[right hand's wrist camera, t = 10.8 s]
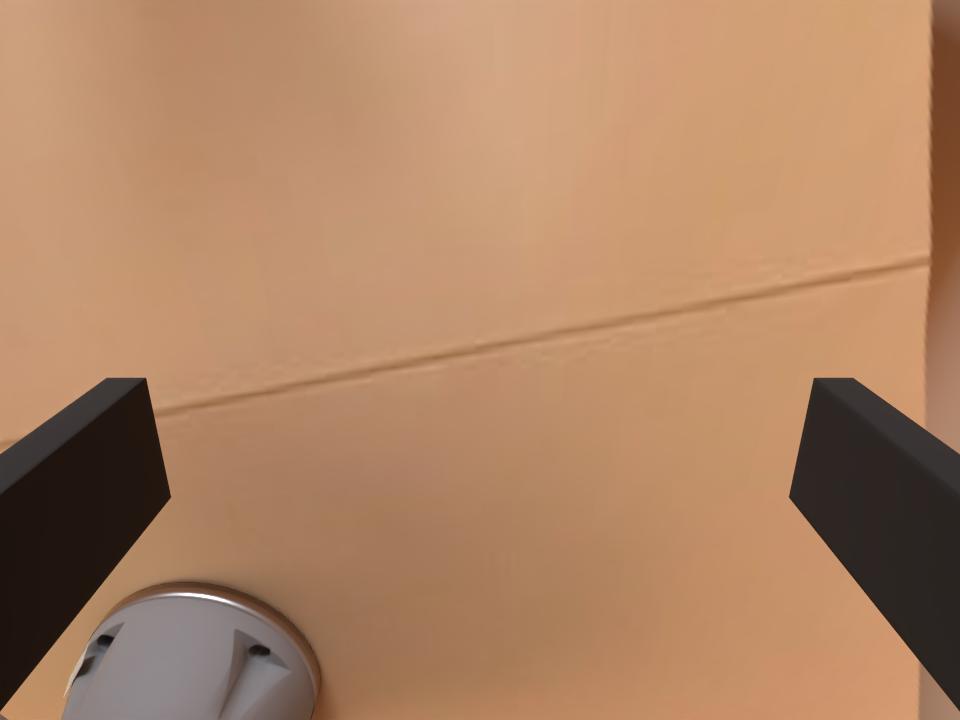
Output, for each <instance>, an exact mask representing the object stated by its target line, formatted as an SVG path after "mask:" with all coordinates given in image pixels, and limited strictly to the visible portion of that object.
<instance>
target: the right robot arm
mask: <svg viewBox="0 0 960 720" xmlns="http://www.w3.org/2000/svg"><path fill="white" fill-rule="evenodd" d="M170 498H171V495H170V490H169V485H168V480H167V476H166V471H165V466H164V461H163V457H162V452H161V447H160V442H159V437H158V433H157V428H156V423H155V418H154V414H153V409H152V404H151V399H150V395H149V390H148V385H147V380H146V378H106V379H105V380H103V381H102V382H101V383H99V384H98V385H96V386H95V387H94V388H92V389H91V390H89V391H88V392H87V393H85V394H84V395H82V396H81V397H80V398H78V399H77V400H75V401H74V402H73V403H71V404H70V405H68V406H67V407H66V408H64V409H63V410H62V411H60V412H59V413H57V414H56V415H55V416H53V417H52V418H50V419H49V420H48V421H46V422H45V423H43V424H42V425H41V426H39V427H38V428H36V429H35V430H34V431H32V432H31V433H29V434H28V435H27V436H25V437H24V438H22V439H21V440H20V441H18V442H17V443H16V444H14V445H13V446H11V447H10V448H9V449H7V450H6V451H4V452H3V453H2V454H0V711H1V710H2V708H3V707H4V706H5V705H6V703H7V702H8V701H9V700H10V698H11V697H12V696H13V695H14V693H15V692H16V691H17V690H18V688H19V687H20V686H21V685H22V683H23V682H24V681H25V680H26V678H27V677H28V676H29V675H30V673H31V672H32V671H33V670H34V668H35V667H36V666H37V665H38V663H39V662H40V661H41V660H42V658H43V657H44V656H45V655H46V653H47V652H48V651H49V650H50V648H51V647H52V646H53V645H54V643H55V642H56V641H57V640H58V638H59V637H60V636H61V635H62V633H63V632H64V631H65V630H66V628H67V627H68V626H69V625H70V623H71V622H72V621H73V620H74V618H75V617H76V616H77V614H78V613H79V612H80V611H81V609H82V608H83V607H84V606H85V604H86V603H87V602H88V601H89V599H90V598H91V597H92V596H93V594H94V593H95V592H96V591H97V589H98V588H99V587H100V586H101V584H102V583H103V582H104V581H105V579H106V578H107V577H108V576H109V574H110V573H111V572H112V571H113V569H114V568H115V567H116V566H117V564H118V563H119V562H120V561H121V559H122V558H123V557H124V556H125V554H126V553H127V552H128V551H129V549H130V548H131V547H132V546H133V544H134V543H135V542H136V541H137V539H138V538H139V537H140V536H141V534H142V533H143V532H144V531H145V529H146V528H147V527H148V526H149V524H150V523H151V522H152V521H153V519H154V518H155V517H156V516H157V514H158V513H159V512H160V511H161V509H162V508H163V507H164V506H165V504H166V503H167V502H168V500H169V499H170ZM789 498H790V499H791V500H792V502H793V503H794V504H795V506H796V507H797V508H798V509H799V511H800V512H801V513H802V514H803V516H804V517H805V518H806V519H807V521H808V522H809V523H810V524H811V526H812V527H813V528H814V529H815V531H816V532H817V533H818V534H819V536H820V537H821V538H822V539H823V541H824V542H825V543H826V544H827V546H828V547H829V548H830V549H831V551H832V552H833V553H834V554H835V556H836V557H837V558H838V559H839V561H840V562H841V563H842V564H843V566H844V567H845V568H846V569H847V571H848V572H849V573H850V574H851V576H852V577H853V578H854V579H855V581H856V582H857V583H858V584H859V586H860V587H861V588H862V589H863V591H864V592H865V593H866V594H867V596H868V597H869V598H870V599H871V601H872V602H873V603H874V604H875V606H876V607H877V608H878V609H879V611H880V612H881V613H882V614H883V616H884V617H885V618H886V620H887V621H888V622H889V623H890V625H891V626H892V627H893V628H894V630H895V631H896V632H897V633H898V635H899V636H900V637H901V638H902V640H903V641H904V642H905V643H906V645H907V646H908V647H909V648H910V650H911V651H912V652H913V653H914V655H915V656H916V657H917V658H918V660H919V661H920V662H921V663H922V665H923V666H924V667H925V668H926V670H927V671H928V672H929V673H930V675H931V676H932V677H933V678H934V680H935V681H936V682H937V683H938V685H939V686H940V687H941V688H942V690H943V691H944V692H945V693H946V695H947V696H948V697H949V698H950V700H951V701H952V702H953V703H954V705H955V706H956V707H957V708H958V710H959V711H960V454H958V453H957V452H956V451H954V450H953V449H951V448H950V447H949V446H947V445H946V444H944V443H943V442H942V441H940V440H939V439H938V438H936V437H935V436H933V435H932V434H931V433H929V432H928V431H926V430H925V429H924V428H922V427H921V426H919V425H918V424H917V423H915V422H914V421H912V420H911V419H910V418H908V417H907V416H905V415H904V414H903V413H901V412H900V411H898V410H897V409H896V408H894V407H893V406H892V405H890V404H889V403H887V402H886V401H885V400H883V399H882V398H880V397H879V396H878V395H876V394H875V393H873V392H872V391H871V390H869V389H868V388H866V387H865V386H864V385H862V384H861V383H859V382H858V381H857V380H855V379H854V378H814V380H813V385H812V390H811V395H810V399H809V404H808V409H807V414H806V418H805V423H804V428H803V433H802V437H801V442H800V447H799V452H798V457H797V461H796V466H795V471H794V476H793V480H792V485H791V490H790V495H789ZM72 682H73V683H72ZM71 683H72V687H71V690H70V693H69V696H68V699H67V702H66V706H65V709H64V712H63V715H62V718H61V720H311V718H312V714H313V711H314V708H315V704H316V701H317V698H318V694H319V689H320V672H319V667H318V663H317V660H316V657H315V654H314V652H313V650H312V648H311V646H310V645H309V643H308V641H307V640H306V638H305V637H304V636H303V634H302V633H301V632H300V631H299V630H298V628H297V627H296V626H295V625H294V624H293V623H292V622H291V621H289V620H288V619H287V618H286V617H285V616H284V615H282V614H281V613H280V612H278V611H277V610H275V609H274V608H272V607H271V606H269V605H268V604H266V603H264V602H262V601H260V600H258V599H256V598H254V597H252V596H250V595H247V594H245V593H243V592H240V591H237V590H234V589H230V588H227V587H223V586H218V585H213V584H206V583H197V582H178V583H168V584H161V585H157V586H152V587H149V588H146V589H143V590H140V591H138V592H136V593H134V594H132V595H130V596H128V597H126V598H125V599H123V600H122V601H121V602H119V603H118V604H117V605H116V606H114V607H113V608H112V609H111V610H110V612H109V613H108V614H107V615H106V617H105V618H104V619H103V620H102V622H101V623H100V624H99V626H98V627H97V628H96V630H95V631H94V632H93V634H92V636H91V637H90V639H89V641H88V643H87V645H86V647H85V649H84V651H83V653H82V655H81V658H80V659H79V661H78V663H77V665H76V667H75V668H74V670H73V672H72V674H71V676H70V679H69V682H68V685H67V688H66V691H65V694H66V692H67V691H68V689H69V687H70V685H71ZM65 694H64V696H65ZM63 698H64V697H63ZM0 720H8V719H6V718H5V717H3V716H2V715H1V714H0Z"/></svg>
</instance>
